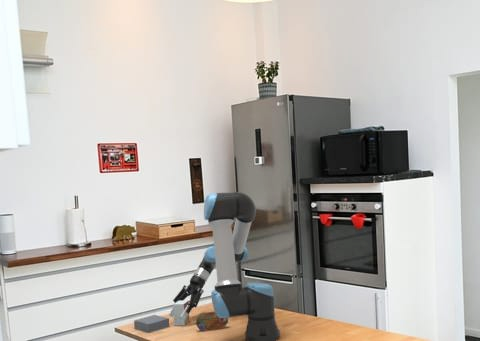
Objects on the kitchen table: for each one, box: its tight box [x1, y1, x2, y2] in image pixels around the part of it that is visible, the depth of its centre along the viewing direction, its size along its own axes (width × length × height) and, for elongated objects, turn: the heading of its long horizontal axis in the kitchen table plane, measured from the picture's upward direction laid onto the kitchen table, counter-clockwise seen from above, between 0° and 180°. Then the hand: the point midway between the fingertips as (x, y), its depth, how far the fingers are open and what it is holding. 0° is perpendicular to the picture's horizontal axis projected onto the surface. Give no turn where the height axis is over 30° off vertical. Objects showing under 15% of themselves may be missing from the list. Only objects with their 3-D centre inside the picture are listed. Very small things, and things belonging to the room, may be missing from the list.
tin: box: [195, 310, 229, 332], centre depth 225 cm, size 15×3×8 cm, turn 105°
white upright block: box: [172, 300, 191, 327], centre depth 238 cm, size 8×6×10 cm
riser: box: [133, 314, 170, 334], centre depth 233 cm, size 12×12×4 cm
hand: (176, 316), depth 235 cm, fingers closed on white upright block, 9 cm apart
